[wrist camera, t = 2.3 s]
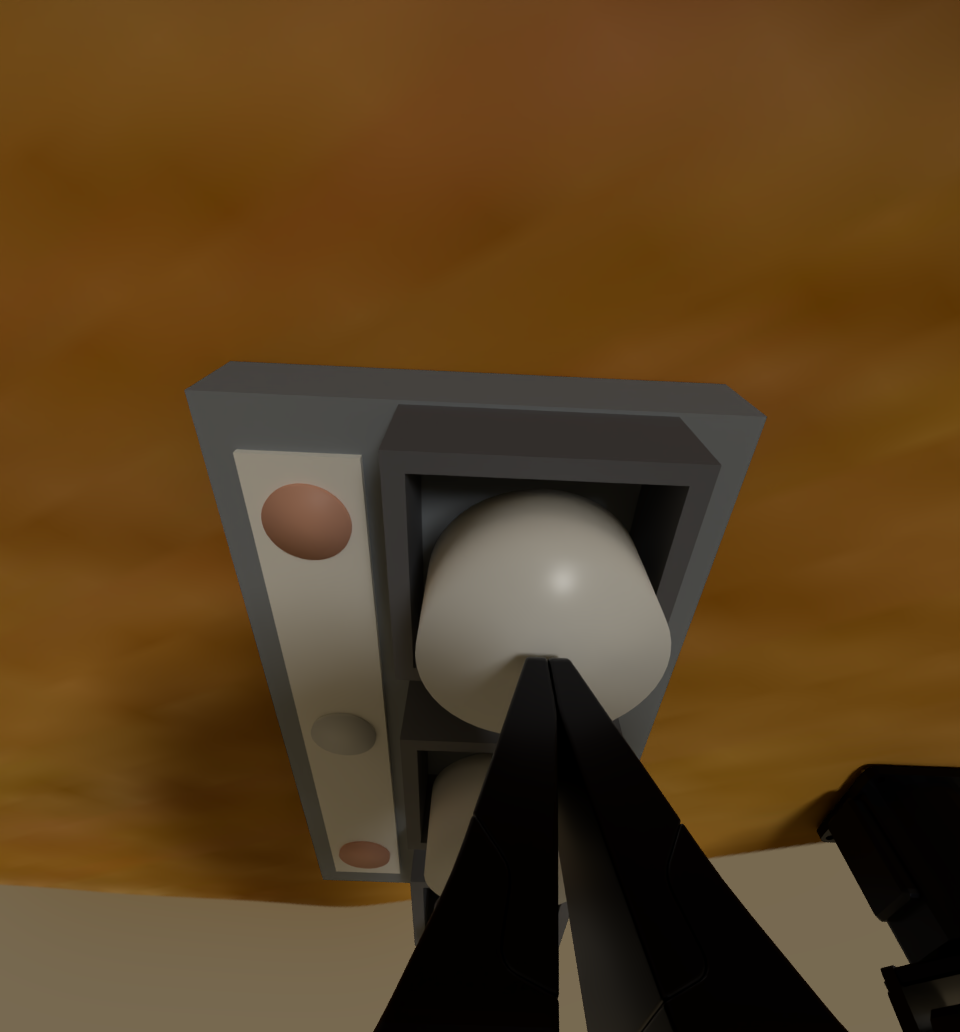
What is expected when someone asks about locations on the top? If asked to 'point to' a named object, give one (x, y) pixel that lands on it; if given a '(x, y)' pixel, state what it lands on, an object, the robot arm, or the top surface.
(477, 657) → the button
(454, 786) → the button mid
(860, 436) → the top surface
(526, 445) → the button board
